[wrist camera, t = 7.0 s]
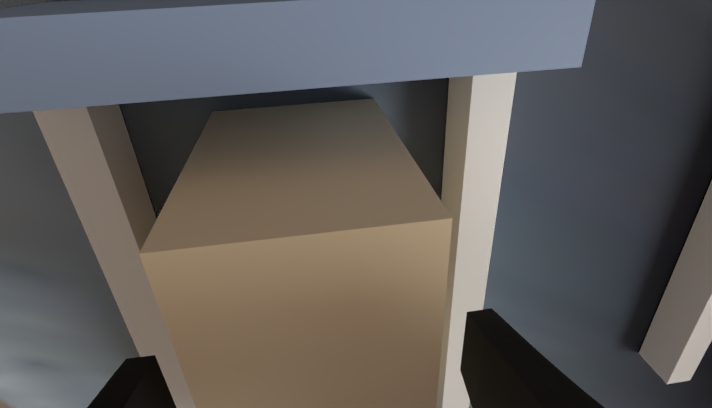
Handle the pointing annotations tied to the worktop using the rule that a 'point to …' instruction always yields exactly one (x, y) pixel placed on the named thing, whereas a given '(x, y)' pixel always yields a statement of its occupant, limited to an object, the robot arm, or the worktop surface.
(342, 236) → the tall tan wooden block
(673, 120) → the worktop surface
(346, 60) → the divider organiser
